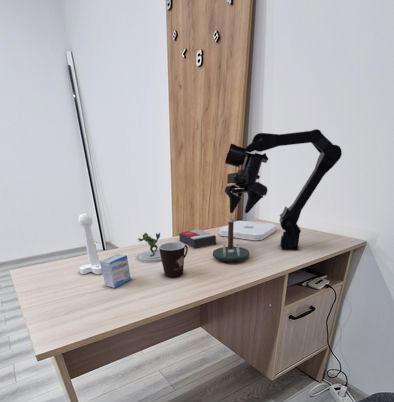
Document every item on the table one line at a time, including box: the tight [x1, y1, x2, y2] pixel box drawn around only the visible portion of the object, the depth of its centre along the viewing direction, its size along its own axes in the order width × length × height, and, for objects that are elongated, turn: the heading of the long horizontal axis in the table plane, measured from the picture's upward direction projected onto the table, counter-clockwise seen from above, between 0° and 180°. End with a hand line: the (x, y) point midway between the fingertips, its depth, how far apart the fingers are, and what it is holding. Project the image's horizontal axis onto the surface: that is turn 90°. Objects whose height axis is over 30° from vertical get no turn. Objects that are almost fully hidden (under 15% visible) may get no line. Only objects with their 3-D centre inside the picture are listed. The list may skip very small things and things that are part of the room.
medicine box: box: [99, 253, 132, 289], centre depth 97 cm, size 8×4×9 cm, turn 148°
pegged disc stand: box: [212, 218, 251, 261], centre depth 112 cm, size 14×14×12 cm
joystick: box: [77, 213, 103, 275], centre depth 104 cm, size 11×8×20 cm
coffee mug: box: [158, 241, 189, 279], centre depth 102 cm, size 12×9×10 cm
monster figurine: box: [136, 232, 162, 263], centre depth 118 cm, size 12×12×10 cm
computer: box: [219, 220, 277, 241], centre depth 145 cm, size 22×22×3 cm
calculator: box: [178, 229, 217, 249], centre depth 135 cm, size 11×4×15 cm
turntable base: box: [217, 259, 245, 264], centre depth 116 cm, size 10×10×1 cm
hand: (238, 213), depth 114 cm, fingers open, 9 cm apart
